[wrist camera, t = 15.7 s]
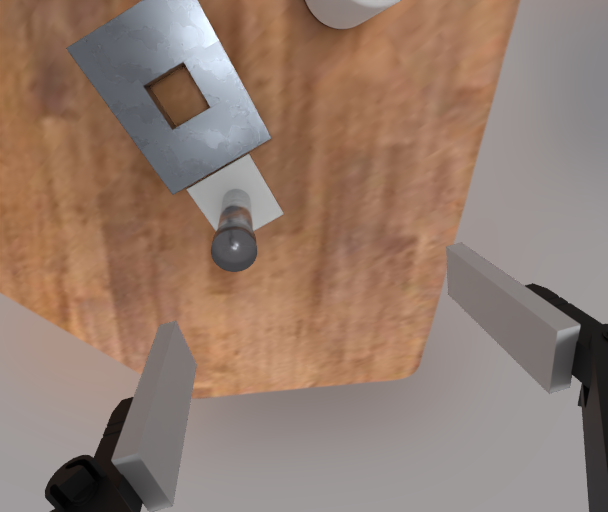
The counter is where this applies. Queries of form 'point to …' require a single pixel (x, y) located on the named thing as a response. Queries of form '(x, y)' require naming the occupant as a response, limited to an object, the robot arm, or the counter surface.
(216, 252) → the key peg
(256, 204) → the pad
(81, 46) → the plate
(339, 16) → the beverage can
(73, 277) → the counter surface
